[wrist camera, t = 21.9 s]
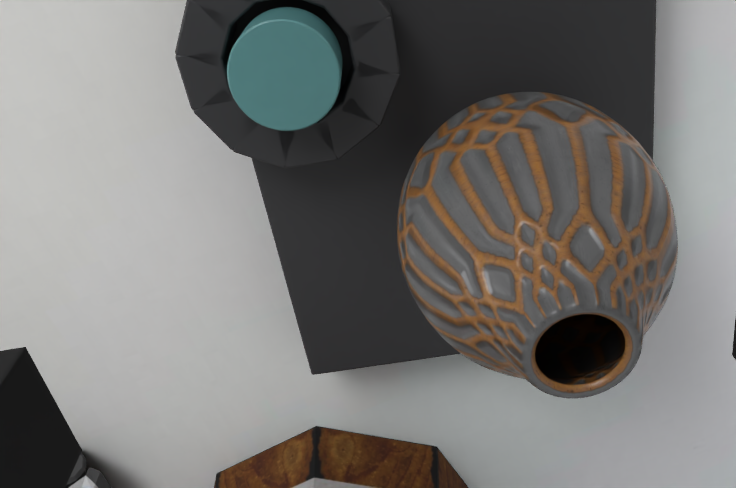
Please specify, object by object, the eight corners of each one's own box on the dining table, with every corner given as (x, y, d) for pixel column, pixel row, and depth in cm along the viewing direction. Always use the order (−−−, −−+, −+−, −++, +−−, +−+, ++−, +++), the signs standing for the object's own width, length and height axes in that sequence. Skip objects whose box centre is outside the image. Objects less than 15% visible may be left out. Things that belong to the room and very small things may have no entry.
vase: (349, 142, 21) (340, 309, 13) (561, 16, 19) (691, 125, 12) (459, 304, 24) (503, 518, 16) (652, 207, 22) (804, 396, 14)
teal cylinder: (223, 17, 18) (212, 30, 17) (330, -4, 18) (328, 9, 16) (252, 120, 19) (243, 140, 18) (351, 102, 19) (350, 121, 18)
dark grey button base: (180, -48, 20) (147, -30, 17) (634, -137, 19) (685, -135, 16) (293, 346, 27) (284, 409, 24) (631, 296, 26) (667, 355, 23)
